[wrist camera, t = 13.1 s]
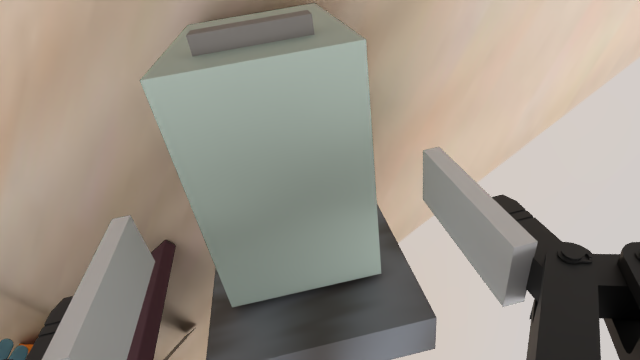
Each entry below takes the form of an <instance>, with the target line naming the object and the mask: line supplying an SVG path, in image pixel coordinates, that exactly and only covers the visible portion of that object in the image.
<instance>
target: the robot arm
mask: <svg viewBox="0 0 640 360" xmlns="http://www.w3.org/2000/svg"><path fill="white" fill-rule="evenodd" d="M423 200H424V201H425V203H426V204H427V205H428V207H429V208H430V210H431V211H432V212H433V214H434V215H435V216H436V217H437V219H438V220H439V222H440V223H441V224H442V226H443V227H444V228H445V230H446V231H447V232H448V233H449V235H450V236H451V238H452V239H453V240H454V242H455V243H456V244H457V246H458V247H459V248H460V250H461V251H462V252H463V254H464V255H465V256H466V258H467V259H468V261H469V262H470V263H471V265H472V266H473V267H474V269H475V270H476V271H477V273H478V274H479V275H480V277H481V278H482V279H483V281H484V282H485V283H486V285H487V286H488V287H489V288H490V290H491V291H492V293H493V294H494V295H495V297H496V298H497V299H498V301H499V302H500V303H501V305H502V306H503V307H504V306H508V305H512V304H516V303H520V302H523V301H524V299H525V295H526V291H527V290H528V291H529V292H530V294H532V296H533V297H534V298H535V300H534V303H533V307H532V311H531V315H530V319H531V326H530V335H529V343H528V351H527V359H526V360H601V356H600V329H599V318H604V321H605V323H606V326H607V328H608V331H609V333H610V336H611V338H612V341H613V344H614V346H615V349H616V351H617V354H618V356H619V359H620V360H640V242H632V243H629V244H627V245H625V246H624V248H623V249H622V251H621V254H619V255H617V254H592V253H591V252H590V251H589V250H587V249H586V248H584V247H582V246H580V245H577V244H574V243H569V242H562V241H560V240H559V239H558V238H557V237H556V236H555V235H554V234H553V233H551V232H550V231H549V230H548V229H547V228H546V227H545V226H544V225H542V224H541V223H540V222H539V221H538V220H537V219H536V218H533V216H532V215H531V214H530V213H529V212H528V211H525V209H524V208H523V207H522V206H521V205H520V204H519V203H518V202H517V201H515V200H513V199H511V198H509V197H507V196H504V195H499V196H495V197H491V196H490V195H489V194H488V193H487V192H486V191H485V190H483V188H481V187H480V186H479V185H478V184H477V183H476V182H475V181H474V180H473V179H472V178H471V177H470V176H469V175H468V174H467V173H466V172H465V171H464V170H463V169H462V168H461V167H460V166H459V165H458V164H457V163H456V162H454V161H453V160H452V159H451V158H450V157H449V156H448V155H447V154H446V153H445V152H444V151H443V150H442V149H441V148H440V147H436V148H431V149H427V150H423ZM154 263H155V260H154V258H153V256H152V254H151V253H150V251H149V249H148V247H147V245H146V243H145V241H144V240H143V238H142V236H141V234H140V232H139V230H138V228H137V227H136V225H135V223H134V221H133V219H132V217H131V215H128V216H124V217H119V218H115V219H112V220H111V222H110V224H109V226H108V228H107V230H106V232H105V234H104V236H103V238H102V240H101V242H100V244H99V246H98V248H97V250H96V252H95V254H94V256H93V258H92V260H91V262H90V264H89V266H88V268H87V270H86V272H85V274H84V276H83V278H82V280H81V282H80V284H79V286H78V288H77V290H76V292H75V294H74V296H72V297H67V298H64V299H63V300H62V301H61V302H60V303H59V304H58V305H57V306H56V307H55V308H54V309H53V310H52V311H51V313H50V315H49V317H48V319H47V321H46V322H45V324H44V325H45V327H43V328H42V330H41V332H40V334H39V335H38V336H39V338H37V339H36V341H35V343H34V345H33V347H32V348H31V350H30V352H29V354H28V356H27V358H26V359H25V360H127V357H128V353H129V350H130V346H131V343H132V340H133V336H134V333H135V329H136V326H137V322H138V319H139V315H140V312H141V308H142V305H143V302H144V298H145V295H146V291H147V288H148V284H149V281H150V277H151V274H152V270H153V267H154ZM3 360H13V359H3Z"/></svg>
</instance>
